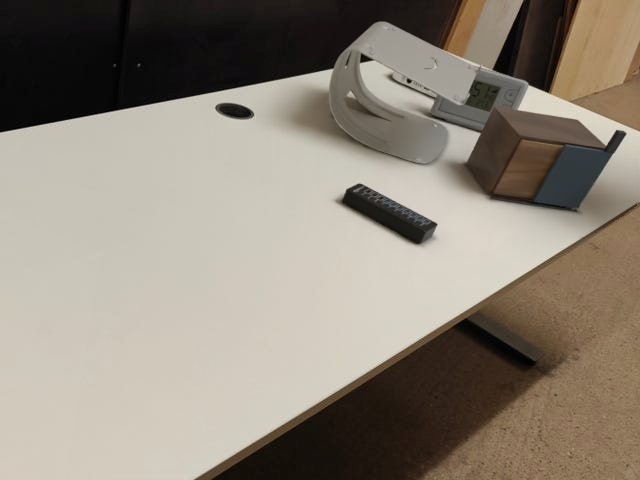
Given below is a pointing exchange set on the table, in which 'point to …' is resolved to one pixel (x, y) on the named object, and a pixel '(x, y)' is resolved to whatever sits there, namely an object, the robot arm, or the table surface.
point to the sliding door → (575, 173)
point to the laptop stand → (399, 126)
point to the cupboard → (523, 152)
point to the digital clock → (482, 99)
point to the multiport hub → (389, 213)
